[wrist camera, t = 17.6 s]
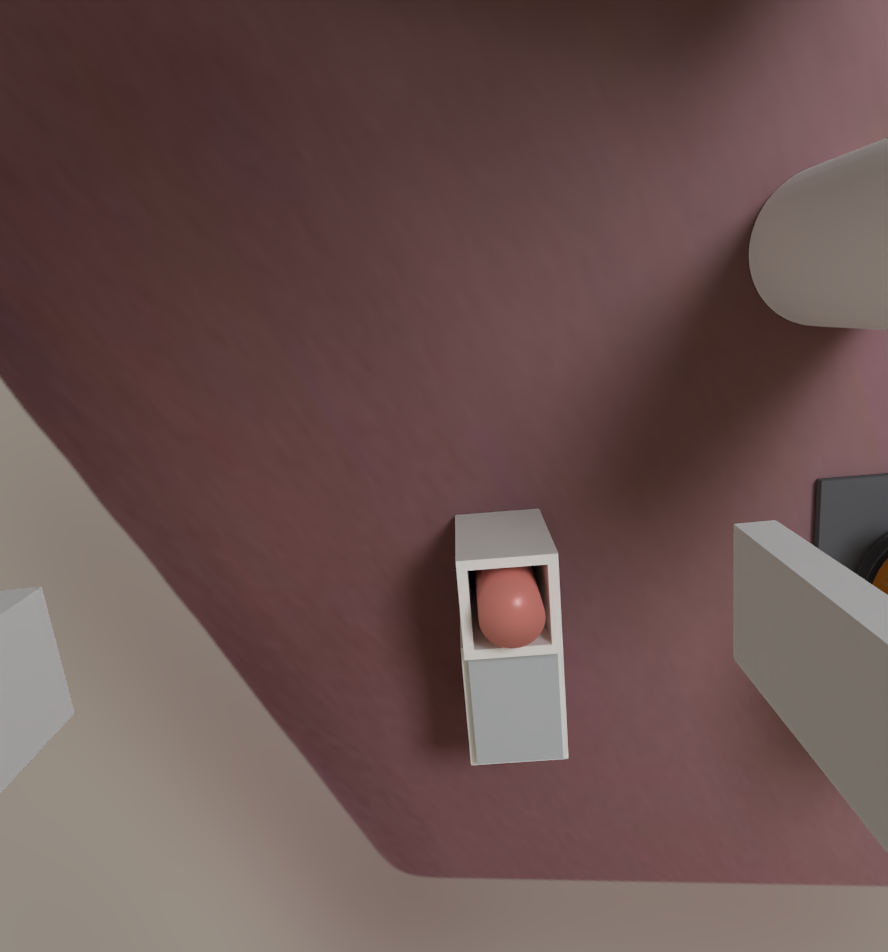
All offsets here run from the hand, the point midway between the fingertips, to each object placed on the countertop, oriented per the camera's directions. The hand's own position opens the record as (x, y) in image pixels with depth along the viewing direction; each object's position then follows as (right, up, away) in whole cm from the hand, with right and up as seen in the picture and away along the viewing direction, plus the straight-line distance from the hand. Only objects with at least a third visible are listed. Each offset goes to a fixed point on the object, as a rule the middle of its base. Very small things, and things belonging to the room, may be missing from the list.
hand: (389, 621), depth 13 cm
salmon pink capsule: (+5, -3, +31) cm, 32 cm away
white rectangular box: (+5, -6, +34) cm, 35 cm away
